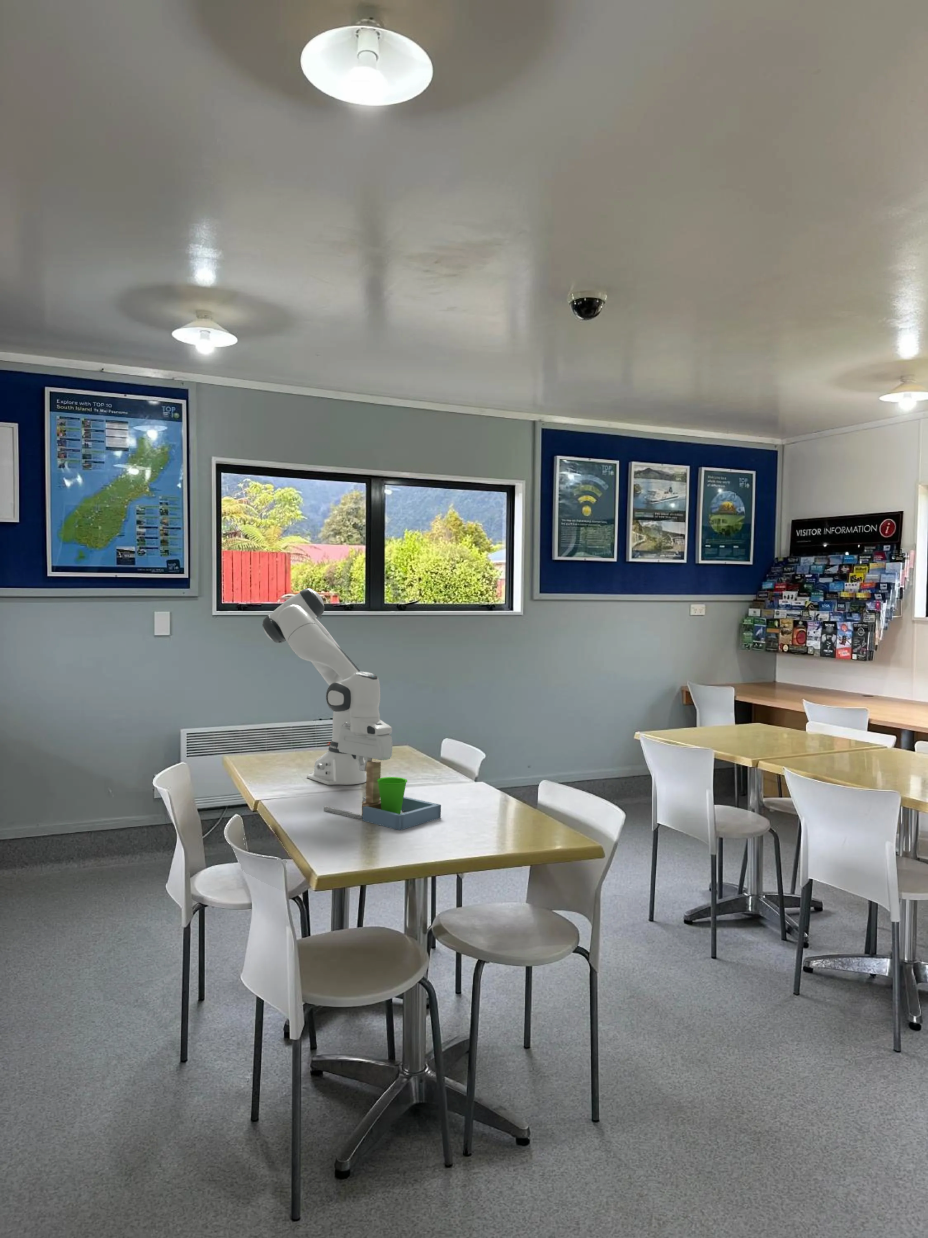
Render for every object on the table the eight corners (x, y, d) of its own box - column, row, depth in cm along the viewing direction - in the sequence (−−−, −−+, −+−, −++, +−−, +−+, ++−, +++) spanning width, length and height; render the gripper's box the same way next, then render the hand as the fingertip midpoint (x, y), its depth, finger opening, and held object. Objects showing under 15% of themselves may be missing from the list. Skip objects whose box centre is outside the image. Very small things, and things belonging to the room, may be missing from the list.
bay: (362, 820, 243) (362, 807, 243) (404, 809, 257) (404, 796, 257) (399, 830, 234) (399, 816, 234) (440, 818, 248) (440, 804, 248)
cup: (370, 818, 246) (371, 781, 245) (385, 811, 254) (386, 775, 254) (397, 822, 242) (398, 784, 242) (411, 815, 250) (412, 779, 250)
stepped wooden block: (354, 814, 249) (356, 763, 249) (382, 806, 259) (383, 758, 258) (366, 817, 246) (368, 766, 246) (394, 809, 256) (395, 760, 255)
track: (323, 810, 253) (323, 806, 253) (364, 800, 267) (364, 797, 267) (361, 820, 244) (361, 816, 244) (401, 809, 257) (402, 805, 257)
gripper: (333, 722, 258) (332, 767, 259) (381, 730, 246) (380, 777, 246) (348, 720, 263) (347, 764, 264) (396, 728, 251) (394, 774, 251)
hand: (363, 770), depth 255 cm, fingers closed
